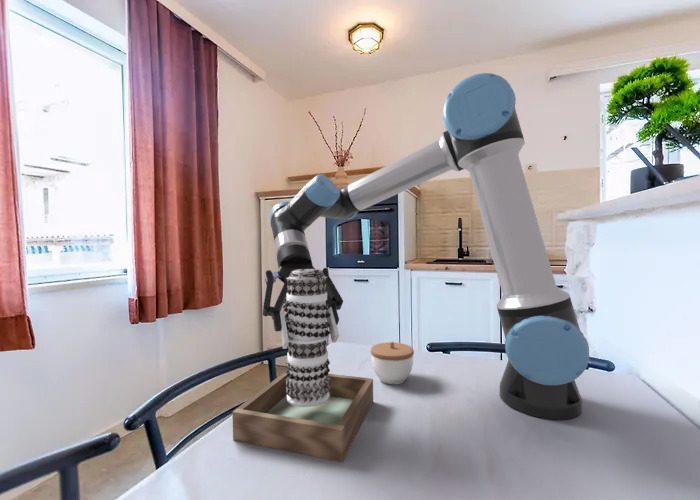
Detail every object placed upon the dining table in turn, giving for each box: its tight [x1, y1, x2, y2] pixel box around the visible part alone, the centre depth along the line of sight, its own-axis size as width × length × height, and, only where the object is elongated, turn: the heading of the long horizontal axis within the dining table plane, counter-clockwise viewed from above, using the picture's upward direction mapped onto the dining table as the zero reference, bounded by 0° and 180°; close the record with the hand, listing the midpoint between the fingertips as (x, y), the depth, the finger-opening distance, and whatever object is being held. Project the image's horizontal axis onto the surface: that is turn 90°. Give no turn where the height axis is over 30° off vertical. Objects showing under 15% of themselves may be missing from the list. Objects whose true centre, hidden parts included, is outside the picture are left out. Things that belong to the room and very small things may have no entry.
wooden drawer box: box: [232, 370, 374, 462], centre depth 64 cm, size 20×20×5 cm
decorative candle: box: [282, 268, 331, 407], centre depth 64 cm, size 9×9×25 cm
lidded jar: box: [370, 341, 415, 385], centre depth 83 cm, size 11×11×9 cm
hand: (311, 341), depth 61 cm, fingers closed on decorative candle, 9 cm apart
